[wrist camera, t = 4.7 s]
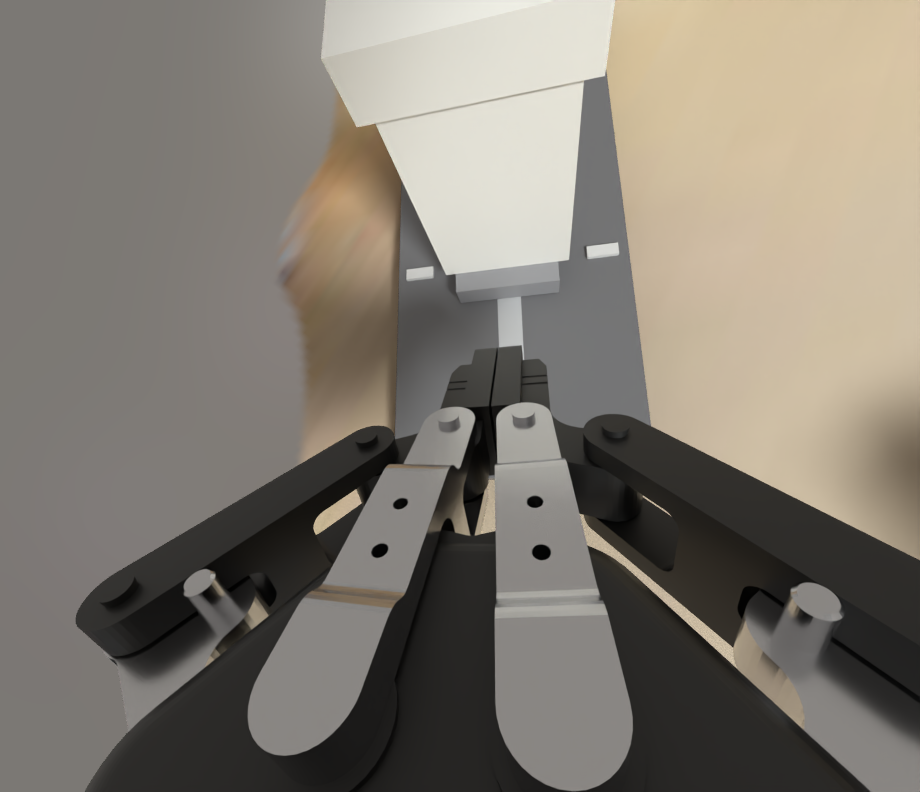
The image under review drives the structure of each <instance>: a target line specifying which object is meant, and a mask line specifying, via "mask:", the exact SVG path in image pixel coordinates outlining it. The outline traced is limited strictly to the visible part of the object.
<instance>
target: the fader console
mask: <svg viewBox="0 0 920 792" xmlns="http://www.w3.org/2000/svg"><path fill="white" fill-rule="evenodd" d="M558 265H559V278H560V284H559V292H557V293H548V294H539V295H530V296H521V297H512V298H502V299H493V300H484V301H475V302H466V303H461V302H460V300H459V298H458V295H457V293H456V274H452V275H446V274H445V272H444V270H443V267H442V265H441V263H440V261H439V259H438V257H437V255H436V252H435V250H434V248H433V246H432V244H431V242H430V240H429V237H428V235H427V233H426V231H425V229H424V227H423V225H422V223H421V220H420V218H419V216H418V214H417V212H416V210H415V208H414V205H413V203H412V201H411V199H410V197H409V195H408V193H407V190H406V188H405V186H404V184H403V182H402V185H401V224H400V262H399V301H398V340H397V379H396V418H395V439H398V438H402V437H406V436H410V435H413V434H417V433H419V431H420V429H421V427H422V425H423V423H424V421H425V419H426V418H427V417H428V416H429V415H430V414H432V413H434V412H435V411H438V410H440V408H441V405H442V402H443V399H444V396H445V393H446V391H447V386H448V384H449V380H450V377H451V374H452V373H453V372H454V371H455V370H456V369H457V368H458V367H459V366H460V365H469V364H472V360H473V356H474V351H475V349H485V348H496V347H497V348H498V350H499V347H507V346H518V345H522V353H523V360H529V359H540V360H541V361H542V362H543V363H544V364H545V365H546V367H547V378H548V389H549V400H550V410H551V413H552V415H553V417H554V418H555V419H557V420H558V421H560V422H561V423H564V424H566V425H569V426H574V427H579V428H584V426H585V424H586V423H587V422H588V421H589V420H590V419H592V418H594V417H596V416H600V415H604V414H622V415H627V416H630V417H633V418H635V419H637V420H639V421H641V422H643V423H645V424H647V425H649V426H651V423H650V415H649V407H648V399H647V391H646V383H645V375H644V367H643V359H642V351H641V343H640V335H639V327H638V319H637V311H636V303H635V295H634V287H633V279H632V271H631V264H630V256H629V248H628V240H627V232H626V224H625V216H624V208H623V200H622V192H621V184H620V176H619V168H618V160H617V152H616V144H615V136H614V128H613V120H612V112H611V105H610V97H609V89H608V81H607V73H606V72H605V76H602V77H598V78H593V79H588V80H584V86H583V98H582V110H581V122H580V134H579V146H578V158H577V170H576V182H575V194H574V206H573V218H572V230H571V242H570V254H569V260H565V261H558ZM493 479H495V475H492V476H489V479H488V480H493Z"/></svg>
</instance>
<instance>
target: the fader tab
mask: <svg viewBox="0 0 920 792" xmlns="http://www.w3.org/2000/svg"><path fill="white" fill-rule="evenodd" d="M614 4H615V0H326V8H325V18H324V29H323V40H322V52H321V60H322V62H323V64H324V66H325V67H326V69H327V71H328V73H329V75H330V77H331V79H332V81H333V83H334V85H335V87H336V89H337V90H338V92H339V94H340V96H341V98H342V100H343V102H344V104H345V106H346V108H347V110H348V111H349V113H350V115H351V117H352V119H353V121H354V123H355V125H356V127H361V126H366V125H370V124H376V126H377V128H378V131H379V133H380V135H381V137H382V139H383V141H384V143H385V146H386V148H387V150H388V152H389V154H390V156H391V158H392V161H393V163H394V165H395V167H396V169H397V171H398V173H399V175H400V178H401V180H402V182H403V184H404V186H405V188H406V190H407V193H408V195H409V197H410V199H411V201H412V203H413V205H414V208H415V210H416V212H417V214H418V216H419V218H420V220H421V223H422V225H423V227H424V229H425V231H426V233H427V235H428V237H429V240H430V242H431V244H432V246H433V248H434V250H435V252H436V255H437V257H438V259H439V261H440V263H441V265H442V267H443V270H444V272H445V274H446V275H452V274H456V293H457V295H458V298H459V300H460V302H461V303H466V302H475V301H484V300H493V299H502V298H512V297H521V296H530V295H539V294H548V293H557V292H559V284H560V278H559V265H558V261H565V260H569V254H570V242H571V230H572V218H573V206H574V194H575V182H576V170H577V158H578V146H579V134H580V122H581V110H582V98H583V86H584V80H588V79H593V78H598V77H602V76H605V72H606V65H607V57H608V49H609V42H610V34H611V27H612V19H613V12H614Z"/></svg>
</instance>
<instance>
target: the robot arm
mask: <svg viewBox="0 0 920 792" xmlns="http://www.w3.org/2000/svg"><path fill="white" fill-rule="evenodd" d="M492 475H495V520H496V531H494V532H489V533H485V534H481V530H482V525H483V520H484V516H485V511H486V506H487V501H488V491H487V485H488V479H489V476H492ZM355 489H357V492H358V494H359V497H360V499H361V502H362V504H360V505H359V506H358V507H356V508H355V509H353V510H352V511H351V512H349V513H348V514H346V515H345V516H343V517H342V518H341V519H339V520H338V521H336V522H335V523H334V524H332V525H331V526H329V527H328V528H327V529H325V530H324V531H322V532H321V533H319V534H317V535H315V533H314V530H313V525H314V522H315V520H316V518H317V517H318V515H319V514H320V513H322V512H323V511H324V510H326V509H327V508H329V507H330V506H332V505H333V504H335V503H336V502H337V501H339V500H340V499H342V498H343V497H345V496H346V495H348V494H349V493H351V492H352V491H354V490H355ZM643 496H645V497H647V498H648V499H650V500H651V501H653V502H654V503H656V504H657V505H659V506H660V507H662V508H663V509H664V510H666V511H667V512H668V513H669V514H670V515H671V516H672V517H671V516H670V515H668V514H667V513H665V512H664V511H662V510H661V509H659V508H658V507H656V506H655V505H653V504H652V503H650V502H649V501H647V500H646V499H644V498H643ZM580 514H583V515H584V518H585V521H586V523H587V524H588V526H589V527H590V528H591V529H592V530H594V531H595V532H596V533H597V534H598V535H600V536H601V537H602V538H603V539H604V540H605V541H607V542H608V543H609V544H610V545H611V546H613V547H614V548H615V549H616V550H617V551H619V552H620V553H621V554H622V555H623V556H625V557H626V558H627V559H628V560H629V561H631V562H632V563H633V564H634V565H635V566H637V567H638V568H639V569H640V570H641V571H642V572H644V573H645V574H646V575H647V576H648V577H650V578H651V579H652V580H653V581H654V582H656V583H657V584H658V585H659V586H660V587H662V588H663V589H664V590H665V591H666V592H668V593H669V594H670V595H671V596H672V597H673V598H675V599H676V600H677V601H678V602H679V603H681V604H682V605H683V606H684V607H685V608H687V609H688V610H689V611H690V612H691V613H693V614H694V615H695V616H696V617H697V618H699V619H700V620H701V621H702V622H703V623H705V624H706V625H707V626H708V627H709V628H710V629H712V630H713V631H714V632H715V633H716V634H718V635H719V636H720V637H721V638H722V639H724V640H725V641H726V642H727V643H728V644H730V645H731V646H732V647H733V654H734V660H735V664H736V666H737V668H736V667H734V666H733V665H732V664H731V663H730V662H729V661H728V660H727V659H726V658H725V657H723V656H722V655H721V654H720V653H719V652H718V651H717V650H716V649H715V648H714V647H713V646H711V645H710V644H709V643H708V642H707V641H706V640H705V639H704V638H703V637H702V636H700V635H699V634H698V633H697V632H696V631H695V630H694V629H693V628H692V627H691V626H690V625H688V624H687V623H686V622H685V621H684V620H683V619H682V618H681V617H680V616H679V615H677V614H676V613H675V612H674V611H673V610H672V609H671V608H670V607H669V606H668V605H667V604H665V603H664V602H663V601H662V600H661V599H660V598H659V597H658V596H657V595H656V594H654V593H653V592H652V591H651V590H650V589H649V588H648V587H647V586H646V585H645V584H644V583H642V582H641V581H640V580H639V579H638V578H637V577H636V576H635V575H634V574H633V573H631V572H630V571H629V570H628V569H627V568H626V567H625V566H623V565H622V564H620V563H619V562H618V561H616V560H615V559H614V558H612V557H610V556H608V555H607V554H605V553H603V552H601V551H599V550H597V549H594V548H592V547H590V546H587V543H586V539H585V535H584V530H583V526H582V522H581V518H580ZM76 624H77V627H79V628H80V629H81V630H82V631H83V632H84V633H85V634H86V635H87V636H89V637H90V638H91V639H92V640H93V641H94V642H95V643H96V644H97V645H98V646H100V647H101V648H102V649H103V652H104V655H105V656H106V657H108V658H109V659H110V660H111V661H112V662H113V663H114V664H115V665H116V666H117V667H118V673H119V679H120V685H121V691H122V696H123V703H124V708H125V713H126V720H127V726H128V733H127V734H126V735H125V736H124V737H123V739H122V740H121V741H120V742H119V743H118V744H117V745H116V746H115V748H114V749H113V750H112V751H111V753H110V754H109V755H108V757H107V758H106V759H105V761H104V762H103V763H102V765H101V766H100V768H99V769H98V771H97V772H96V774H95V775H94V777H93V779H92V780H91V782H90V783H89V785H88V786H87V788H86V790H85V792H920V560H918V559H916V558H914V557H912V556H910V555H908V554H906V553H904V552H902V551H900V550H898V549H896V548H894V547H892V546H890V545H888V544H886V543H884V542H882V541H880V540H878V539H876V538H874V537H872V536H870V535H868V534H866V533H864V532H862V531H860V530H858V529H856V528H854V527H852V526H850V525H848V524H846V523H844V522H842V521H840V520H838V519H836V518H834V517H832V516H830V515H828V514H826V513H824V512H822V511H820V510H818V509H816V508H814V507H812V506H810V505H808V504H806V503H804V502H802V501H800V500H798V499H796V498H794V497H792V496H790V495H788V494H786V493H784V492H782V491H780V490H778V489H776V488H774V487H772V486H770V485H768V484H766V483H764V482H762V481H760V480H758V479H756V478H754V477H752V476H750V475H748V474H746V473H744V472H742V471H740V470H738V469H736V468H734V467H732V466H730V465H728V464H726V463H724V462H722V461H720V460H718V459H715V458H713V457H711V456H709V455H707V454H705V453H703V452H701V451H699V450H697V449H695V448H693V447H691V446H689V445H687V444H685V443H683V442H681V441H679V440H677V439H675V438H673V437H671V436H669V435H667V434H665V433H663V432H661V431H659V430H657V429H655V428H653V427H651V426H649V425H647V424H645V423H643V422H641V421H639V420H637V419H635V418H633V417H630V416H627V415H622V414H604V415H600V416H596V417H594V418H592V419H590V420H589V421H588V422H587V423H586V424H585V426H584V428H579V427H574V426H569V425H566V424H564V423H561V422H560V421H558V420H557V419H555V418H554V417H553V415H552V413H551V410H550V400H549V389H548V378H547V367H546V365H545V364H544V363H543V362H542V361H541V360H540V359H529V360H523V353H522V345H518V346H507V347H499V350H498V348H497V347H496V348H485V349H475V351H474V356H473V360H472V364H469V365H460V366H459V367H458V368H457V369H456V370H455V371H454V372H453V373H452V374H451V377H450V380H449V384H448V386H447V391H446V393H445V396H444V399H443V402H442V405H441V408H440V410H438V411H435V412H434V413H432V414H430V415H429V416H428V417H427V418H426V419H425V421H424V423H423V425H422V427H421V429H420V431H419V433H417V434H413V435H410V436H406V437H402V438H398V439H395V437H394V434H393V431H392V430H391V429H389V428H387V427H384V426H370V427H366V428H363V429H360V430H358V431H356V432H354V433H352V434H351V435H349V436H347V437H346V438H344V439H342V440H340V441H339V442H337V443H335V444H334V445H332V446H330V447H329V448H327V449H325V450H323V451H322V452H320V453H318V454H317V455H315V456H313V457H312V458H310V459H308V460H307V461H305V462H303V463H301V464H300V465H298V466H296V467H295V468H293V469H291V470H290V471H288V472H286V473H284V474H283V475H281V476H279V477H278V478H276V479H274V480H273V481H271V482H269V483H268V484H266V485H264V486H262V487H261V488H259V489H257V490H256V491H254V492H252V493H251V494H249V495H247V496H246V497H244V498H242V499H240V500H239V501H237V502H235V503H234V504H232V505H230V506H228V507H227V508H225V509H223V510H222V511H220V512H218V513H217V514H215V515H213V516H212V517H210V518H208V519H206V520H205V521H203V522H201V523H200V524H198V525H196V526H195V527H193V528H191V529H189V530H188V531H186V532H185V533H183V534H181V535H179V536H178V537H176V538H174V539H173V540H171V541H169V542H167V543H166V544H164V545H162V546H161V547H159V548H157V549H156V550H154V551H153V552H150V553H149V554H147V555H145V556H144V557H142V558H141V559H139V560H137V561H135V562H133V563H132V564H130V565H128V566H127V567H125V568H123V569H122V570H120V571H118V572H117V573H115V574H114V575H112V576H110V577H109V578H107V579H106V580H105V581H103V582H102V583H101V584H100V585H99V586H97V587H96V588H95V589H94V590H93V591H92V592H91V593H90V594H89V595H88V597H87V598H86V599H85V600H84V602H83V603H82V605H81V606H80V608H79V610H78V612H77V615H76Z"/></svg>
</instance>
